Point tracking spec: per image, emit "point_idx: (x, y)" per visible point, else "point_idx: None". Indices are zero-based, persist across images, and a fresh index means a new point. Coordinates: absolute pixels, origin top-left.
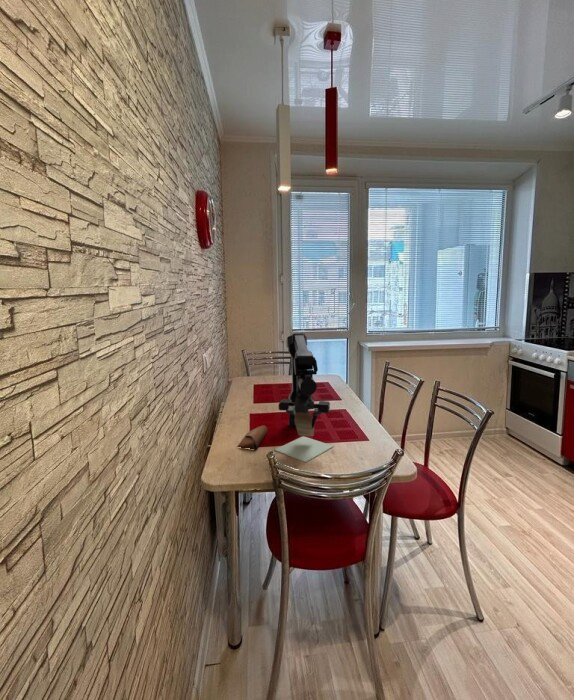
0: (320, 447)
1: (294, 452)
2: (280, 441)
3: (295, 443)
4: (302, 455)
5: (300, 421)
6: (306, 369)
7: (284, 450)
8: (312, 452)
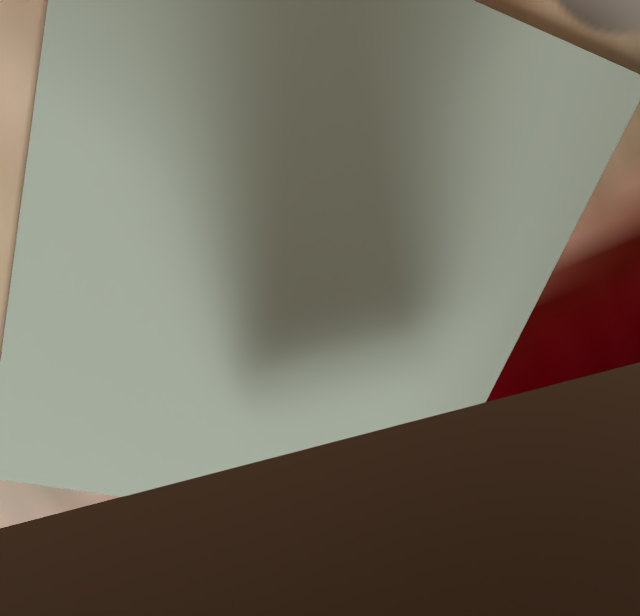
0: (111, 377)
1: (371, 94)
2: (616, 346)
3: (440, 351)
4: (225, 38)
5: (515, 402)
6: None
7: (520, 103)
8: (136, 197)
